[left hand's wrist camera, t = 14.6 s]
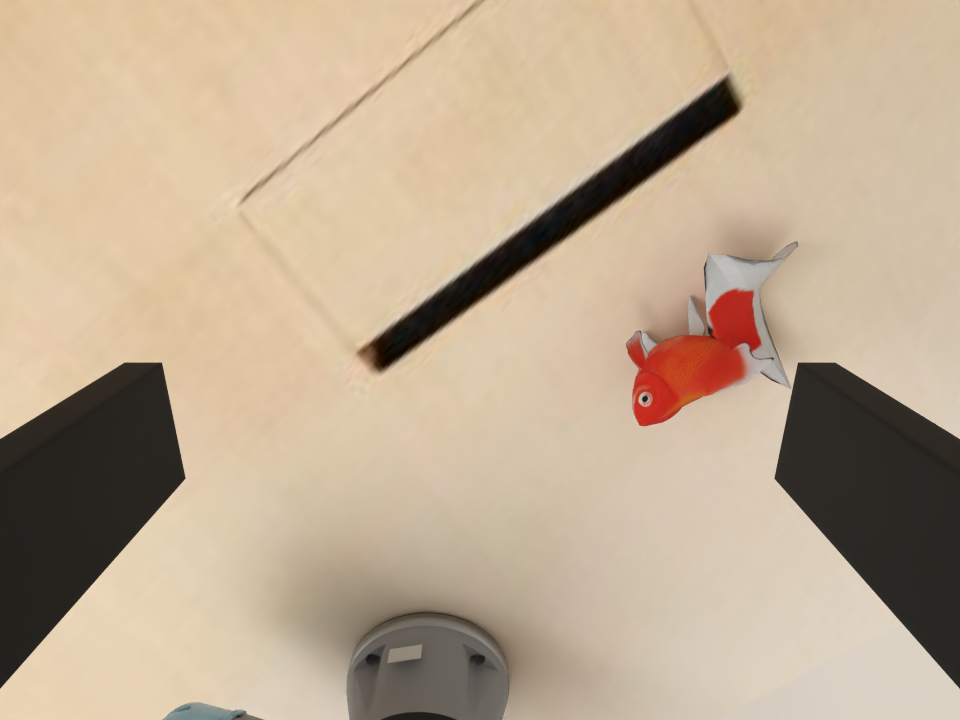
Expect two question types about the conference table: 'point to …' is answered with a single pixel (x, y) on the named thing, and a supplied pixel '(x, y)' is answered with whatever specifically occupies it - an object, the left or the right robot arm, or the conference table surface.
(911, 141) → the conference table surface
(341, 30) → the conference table surface
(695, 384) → the fish
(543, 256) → the conference table surface
